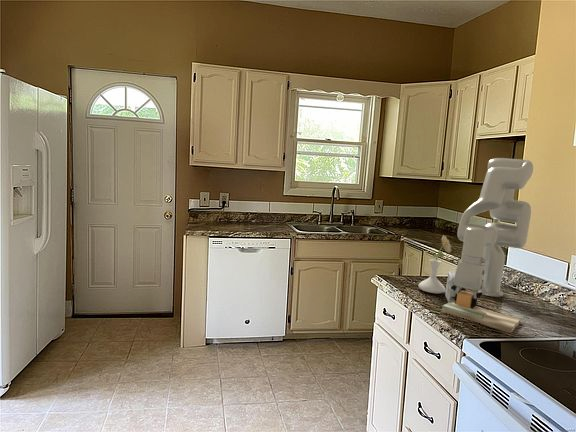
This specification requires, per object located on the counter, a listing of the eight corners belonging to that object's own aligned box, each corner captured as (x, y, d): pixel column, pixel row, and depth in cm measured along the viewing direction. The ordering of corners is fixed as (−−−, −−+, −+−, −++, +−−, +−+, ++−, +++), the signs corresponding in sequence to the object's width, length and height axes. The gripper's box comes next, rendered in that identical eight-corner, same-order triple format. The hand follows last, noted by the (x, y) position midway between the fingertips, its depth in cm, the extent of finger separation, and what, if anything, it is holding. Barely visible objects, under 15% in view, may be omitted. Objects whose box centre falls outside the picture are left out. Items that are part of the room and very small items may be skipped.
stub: (461, 302, 173) (462, 290, 172) (474, 306, 170) (475, 293, 169) (455, 305, 168) (457, 293, 168) (469, 309, 165) (470, 296, 164)
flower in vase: (432, 296, 183) (440, 238, 179) (412, 288, 192) (419, 232, 189) (453, 294, 189) (461, 237, 186) (432, 286, 199) (440, 232, 196)
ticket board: (454, 304, 175) (455, 298, 175) (520, 322, 160) (521, 316, 160) (441, 312, 164) (442, 305, 164) (510, 332, 149) (511, 325, 149)
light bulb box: (465, 305, 175) (469, 279, 174) (448, 303, 176) (451, 277, 175) (460, 297, 185) (464, 272, 184) (444, 295, 187) (447, 270, 185)
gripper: (498, 263, 164) (490, 309, 166) (452, 253, 175) (446, 297, 177) (492, 266, 158) (485, 314, 161) (446, 256, 169) (439, 301, 171)
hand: (465, 304), depth 169 cm, fingers closed on stub, 5 cm apart
